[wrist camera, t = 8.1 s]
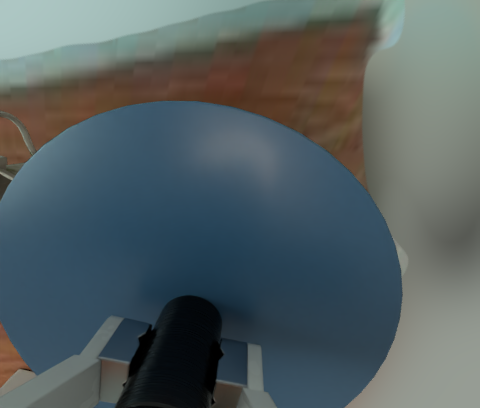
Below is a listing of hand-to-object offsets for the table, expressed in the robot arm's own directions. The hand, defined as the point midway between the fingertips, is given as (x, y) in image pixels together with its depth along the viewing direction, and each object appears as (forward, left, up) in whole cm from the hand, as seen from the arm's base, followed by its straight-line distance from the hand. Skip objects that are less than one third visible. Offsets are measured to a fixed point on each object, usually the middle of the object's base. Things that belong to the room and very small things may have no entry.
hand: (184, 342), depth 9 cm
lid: (0, 0, -2) cm, 2 cm away
